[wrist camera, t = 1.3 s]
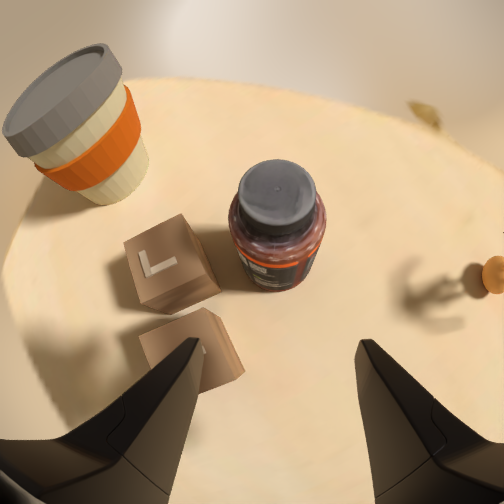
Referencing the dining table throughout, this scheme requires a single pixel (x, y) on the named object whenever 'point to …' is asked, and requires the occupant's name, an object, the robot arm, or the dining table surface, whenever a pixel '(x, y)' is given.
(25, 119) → the reusable coffee cup
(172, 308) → the block seven
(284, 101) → the dining table surface
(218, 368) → the block one
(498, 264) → the figurine
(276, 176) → the supplement bottle
